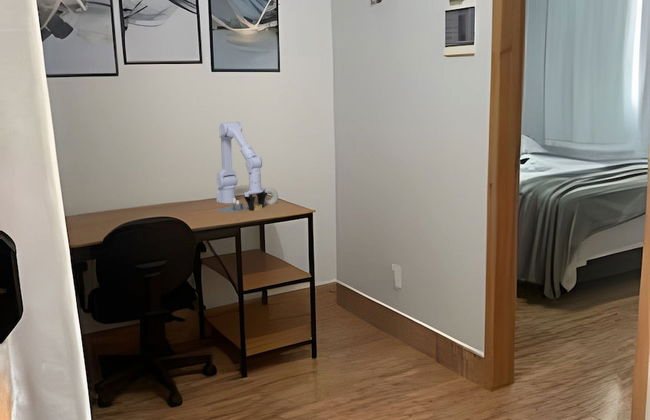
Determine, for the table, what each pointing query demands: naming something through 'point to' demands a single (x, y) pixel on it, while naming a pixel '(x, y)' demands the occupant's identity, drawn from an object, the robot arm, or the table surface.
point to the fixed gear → (237, 206)
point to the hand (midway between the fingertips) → (256, 208)
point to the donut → (274, 196)
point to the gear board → (230, 209)
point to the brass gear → (257, 206)
